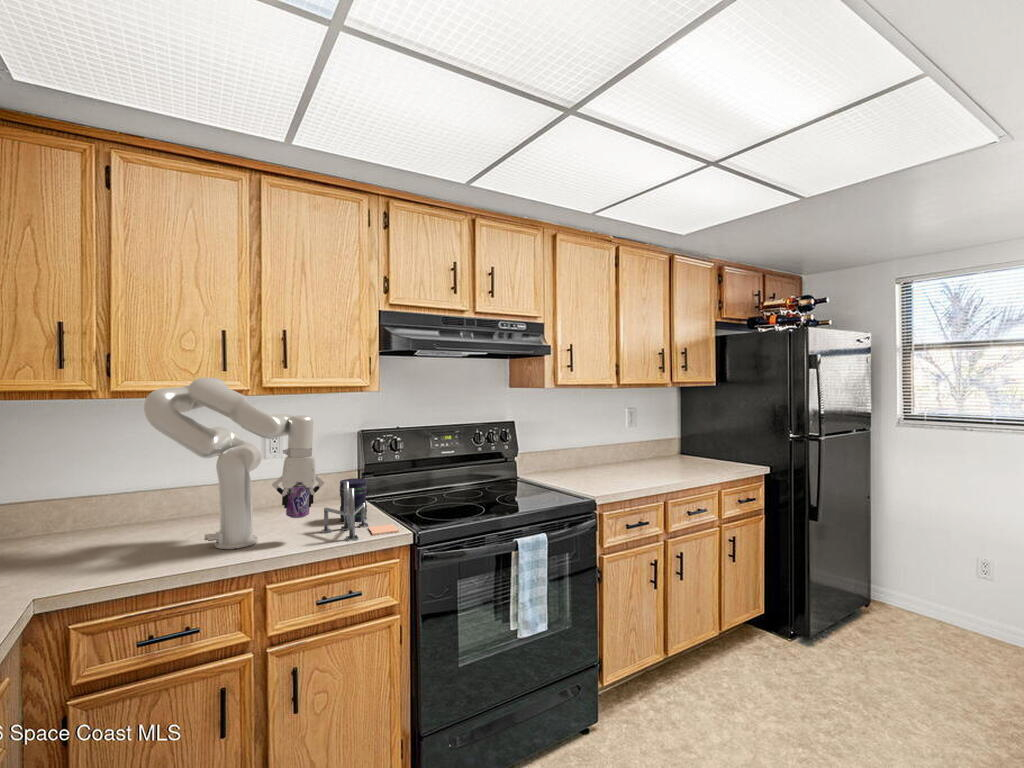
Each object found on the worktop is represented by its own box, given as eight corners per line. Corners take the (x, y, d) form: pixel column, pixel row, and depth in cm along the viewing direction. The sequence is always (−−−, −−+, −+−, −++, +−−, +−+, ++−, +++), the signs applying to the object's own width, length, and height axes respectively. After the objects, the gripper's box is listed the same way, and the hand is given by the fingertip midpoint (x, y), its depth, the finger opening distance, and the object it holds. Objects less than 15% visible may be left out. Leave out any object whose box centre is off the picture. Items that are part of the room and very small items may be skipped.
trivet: (372, 535, 183) (372, 533, 183) (368, 528, 191) (368, 527, 191) (398, 532, 186) (398, 530, 186) (393, 525, 194) (393, 523, 194)
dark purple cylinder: (351, 524, 196) (351, 484, 196) (334, 521, 201) (333, 481, 201) (372, 518, 204) (372, 480, 204) (355, 515, 210) (355, 477, 209)
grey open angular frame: (325, 544, 174) (325, 492, 173) (321, 530, 189) (320, 482, 189) (375, 537, 180) (375, 487, 180) (367, 524, 196) (366, 478, 196)
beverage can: (286, 519, 171) (287, 482, 171) (285, 514, 178) (287, 478, 178) (309, 518, 174) (311, 481, 174) (308, 512, 181) (310, 477, 181)
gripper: (271, 455, 169) (268, 511, 169) (328, 454, 176) (326, 507, 176) (271, 451, 176) (268, 505, 176) (326, 451, 183) (324, 502, 183)
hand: (297, 506), depth 176 cm, fingers closed on beverage can, 6 cm apart
